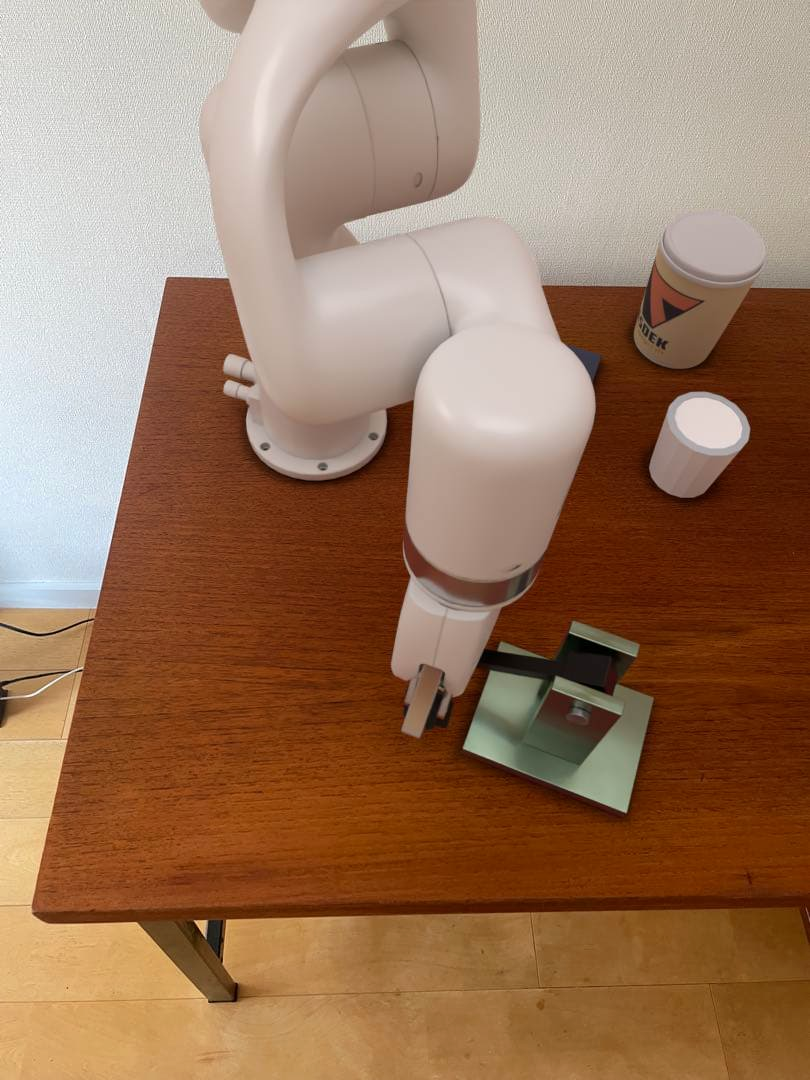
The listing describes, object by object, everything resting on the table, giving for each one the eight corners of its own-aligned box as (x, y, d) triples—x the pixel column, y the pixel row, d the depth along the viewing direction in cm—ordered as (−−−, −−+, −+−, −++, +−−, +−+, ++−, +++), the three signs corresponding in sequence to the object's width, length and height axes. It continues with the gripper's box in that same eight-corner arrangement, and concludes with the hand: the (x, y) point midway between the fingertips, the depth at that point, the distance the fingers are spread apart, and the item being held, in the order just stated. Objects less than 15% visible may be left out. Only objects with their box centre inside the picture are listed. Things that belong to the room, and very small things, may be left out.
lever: (429, 697, 55) (417, 680, 53) (458, 624, 58) (447, 606, 56) (603, 733, 49) (596, 715, 47) (625, 649, 52) (619, 629, 50)
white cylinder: (658, 430, 74) (684, 378, 68) (728, 462, 73) (761, 412, 67) (630, 481, 71) (655, 431, 65) (703, 516, 69) (735, 468, 63)
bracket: (460, 753, 58) (480, 695, 48) (498, 647, 62) (524, 573, 52) (622, 817, 56) (679, 771, 46) (649, 702, 60) (706, 637, 50)
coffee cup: (609, 317, 82) (644, 216, 71) (690, 301, 83) (736, 200, 73) (650, 384, 77) (694, 285, 67) (735, 365, 79) (790, 266, 69)
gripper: (461, 399, 47) (438, 551, 62) (343, 652, 38) (349, 758, 53) (584, 438, 46) (530, 584, 61) (491, 708, 37) (455, 801, 52)
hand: (446, 664), depth 57 cm, fingers open, 7 cm apart
